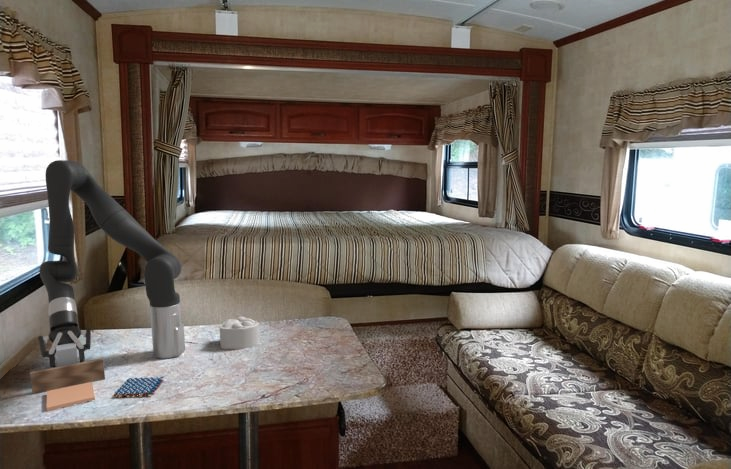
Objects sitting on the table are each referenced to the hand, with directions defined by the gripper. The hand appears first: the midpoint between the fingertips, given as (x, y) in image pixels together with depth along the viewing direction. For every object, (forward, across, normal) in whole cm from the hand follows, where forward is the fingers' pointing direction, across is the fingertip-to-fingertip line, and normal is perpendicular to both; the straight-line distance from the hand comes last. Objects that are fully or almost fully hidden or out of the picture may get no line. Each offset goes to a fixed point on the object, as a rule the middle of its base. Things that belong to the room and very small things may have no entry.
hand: (68, 365), depth 147 cm
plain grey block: (+2, 0, +5) cm, 5 cm away
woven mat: (+16, +17, -8) cm, 24 cm away
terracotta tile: (+12, 0, -5) cm, 13 cm away
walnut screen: (+6, 0, +1) cm, 6 cm away
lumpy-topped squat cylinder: (+2, +52, +5) cm, 52 cm away
